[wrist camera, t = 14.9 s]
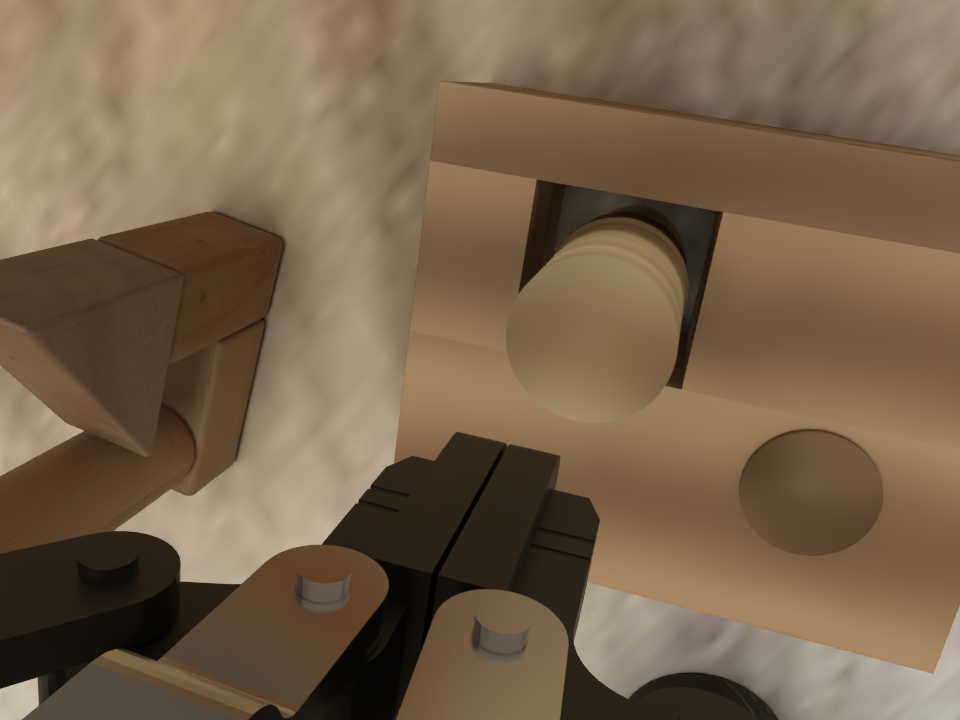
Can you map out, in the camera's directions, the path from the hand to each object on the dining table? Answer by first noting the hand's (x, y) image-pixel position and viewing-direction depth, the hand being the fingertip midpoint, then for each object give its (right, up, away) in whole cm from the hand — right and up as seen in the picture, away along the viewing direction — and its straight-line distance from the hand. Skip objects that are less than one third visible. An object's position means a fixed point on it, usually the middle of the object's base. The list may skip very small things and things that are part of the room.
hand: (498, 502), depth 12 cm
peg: (+5, +6, +19) cm, 21 cm away
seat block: (+8, +3, +19) cm, 21 cm away
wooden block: (-11, +3, +25) cm, 27 cm away
